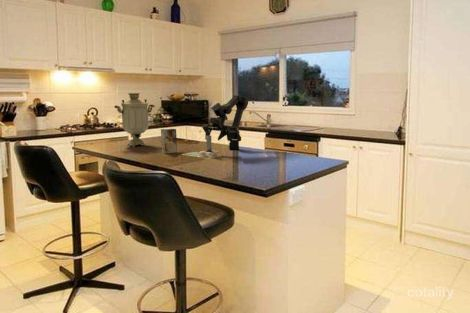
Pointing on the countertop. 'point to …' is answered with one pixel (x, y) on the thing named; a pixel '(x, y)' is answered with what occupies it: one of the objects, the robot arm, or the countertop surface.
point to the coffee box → (169, 140)
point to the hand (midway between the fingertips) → (211, 139)
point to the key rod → (208, 143)
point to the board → (204, 154)
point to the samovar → (135, 117)
